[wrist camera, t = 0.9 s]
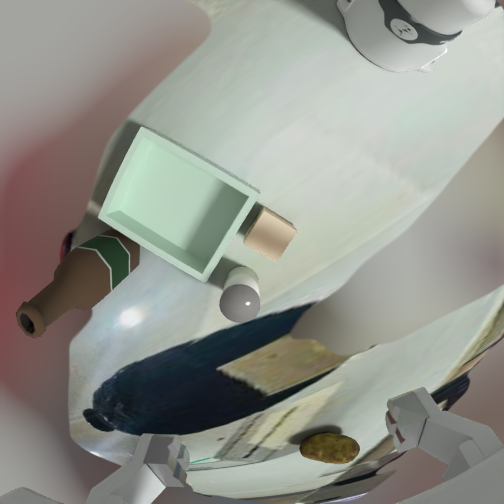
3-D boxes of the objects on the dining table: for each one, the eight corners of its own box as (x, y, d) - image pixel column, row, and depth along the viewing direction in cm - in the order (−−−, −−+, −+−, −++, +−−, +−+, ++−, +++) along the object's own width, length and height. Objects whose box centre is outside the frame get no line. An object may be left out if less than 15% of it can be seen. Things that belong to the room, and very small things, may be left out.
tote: (153, 130, 38) (141, 126, 33) (259, 190, 40) (260, 194, 36) (113, 211, 41) (97, 217, 37) (210, 270, 44) (205, 283, 39)
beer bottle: (133, 221, 42) (31, 278, 19) (149, 268, 44) (69, 357, 21) (94, 234, 43) (-9, 292, 20) (110, 278, 45) (24, 359, 22)
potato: (307, 425, 54) (312, 453, 47) (358, 426, 55) (367, 451, 47) (295, 445, 57) (299, 471, 49) (344, 446, 57) (350, 470, 50)
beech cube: (263, 205, 41) (264, 210, 36) (292, 223, 42) (297, 231, 37) (244, 234, 42) (243, 243, 38) (273, 251, 43) (276, 262, 38)
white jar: (236, 259, 43) (232, 279, 36) (265, 276, 44) (268, 299, 37) (219, 286, 45) (212, 310, 37) (248, 302, 46) (246, 328, 38)
